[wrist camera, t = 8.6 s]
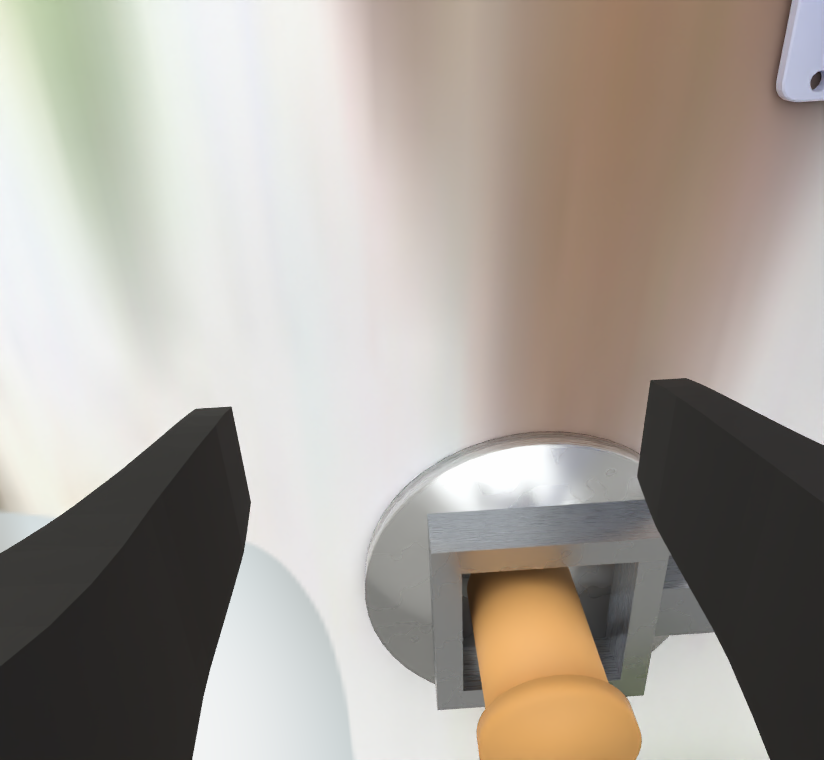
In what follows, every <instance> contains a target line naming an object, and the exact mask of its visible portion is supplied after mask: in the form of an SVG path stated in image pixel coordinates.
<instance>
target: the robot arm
mask: <svg viewBox="0 0 824 760" xmlns="http://www.w3.org/2000/svg"><path fill="white" fill-rule="evenodd" d="M818 71H819V72H820V73H821V81H820V83H819V85H818V86H817V87H816V88H815V89H813V90H812V89H811V87H810V81H811V79H812V76H813V75H814V74H815V73H817V72H818ZM776 91H777V93H778V95H779V96H780V97H781V98H782V99H783V100H787V101H793V102H808V101H824V0H792V4H791V9H790V15H789V20H788V25H787V30H786V35H785V40H784V45H783V50H782V55H781V60H780V65H779V70H778V76H777V81H776ZM637 479H638V481H639V484H640V487H641V490H642V493H643V495H644V498H645V501H646V504H647V506H648V509H649V511H650V514H651V516H652V519H653V521H654V524H655V526H656V528H657V530H658V532H659V533H660V535H661V537H662V539H663V541H664V543H665V545H666V546H667V548H668V550H669V552H670V554H671V555H672V557H673V559H674V561H675V563H676V564H677V566H678V568H679V570H680V572H681V573H682V575H683V577H684V579H685V580H686V582H687V584H688V586H689V588H690V589H691V591H692V593H693V595H694V596H695V598H696V600H697V602H698V604H699V605H700V607H701V609H702V611H703V612H704V614H705V616H706V618H707V620H708V621H709V623H710V625H711V627H712V628H713V630H714V632H715V634H716V636H717V638H718V640H719V642H720V644H721V646H722V648H723V650H724V652H725V654H726V656H727V657H728V660H729V662H730V664H731V666H732V669H733V671H734V673H735V676H736V678H737V680H738V683H739V685H740V687H741V690H742V692H743V694H744V697H745V699H746V701H747V704H748V706H749V708H750V711H751V713H752V715H753V718H754V720H755V723H756V725H757V728H758V730H759V733H760V735H761V738H762V740H763V743H764V745H765V748H766V751H767V753H768V756H769V758H770V760H824V445H822V444H819V443H817V442H815V441H813V440H811V439H809V438H807V437H805V436H803V435H801V434H799V433H796V432H794V431H792V430H790V429H788V428H786V427H784V426H782V425H780V424H778V423H776V422H775V421H773V420H771V419H769V418H767V417H765V416H763V415H761V414H759V413H757V412H755V411H753V410H751V409H749V408H747V407H745V406H743V405H742V404H740V403H738V402H736V401H734V400H732V399H730V398H728V397H726V396H724V395H722V394H720V393H718V392H716V391H714V390H712V389H710V388H708V387H706V386H704V385H701V384H699V383H697V382H694V381H692V380H689V379H687V378H681V379H665V380H651V381H650V388H649V395H648V402H647V409H646V416H645V423H644V431H643V438H642V445H641V452H640V459H639V466H638V473H637ZM250 504H251V501H250V496H249V491H248V486H247V481H246V476H245V471H244V466H243V461H242V456H241V451H240V446H239V441H238V437H237V432H236V427H235V422H234V417H233V412H232V407H218V408H202V409H195V410H193V411H192V412H191V413H189V414H188V415H187V416H185V417H184V418H183V419H182V420H180V421H179V422H178V423H177V424H176V425H174V426H173V427H172V428H171V429H170V430H168V431H167V432H166V433H165V434H164V435H163V436H161V437H160V438H159V439H158V440H157V441H155V442H154V443H153V444H152V445H151V446H150V447H148V448H147V449H146V450H145V451H144V452H142V453H141V454H140V455H139V456H138V457H136V458H135V459H134V460H133V461H132V462H130V463H129V464H128V465H127V466H126V467H124V468H123V469H122V470H121V471H119V472H118V473H117V474H115V475H114V476H113V477H112V478H110V479H109V480H108V481H106V482H105V483H104V484H102V485H101V486H100V487H98V488H97V489H96V490H94V491H93V492H92V493H90V494H89V495H88V496H86V497H85V498H84V499H82V500H81V501H80V502H79V503H77V504H76V505H75V506H73V507H72V508H70V509H69V510H68V511H66V512H65V513H63V514H62V515H60V516H59V517H57V518H56V519H54V520H53V521H51V522H50V523H48V524H47V525H45V526H44V527H42V528H41V529H39V530H38V531H36V532H34V533H33V534H31V535H30V536H28V537H26V538H25V539H23V540H22V541H20V542H18V543H17V544H15V545H14V546H12V547H10V548H9V549H7V550H5V551H3V552H2V553H0V760H192V756H193V751H194V746H195V740H196V735H197V729H198V724H199V718H200V713H201V707H202V701H203V696H204V692H205V688H206V684H207V680H208V675H209V671H210V667H211V664H212V661H213V657H214V654H215V650H216V647H217V644H218V640H219V637H220V633H221V630H222V627H223V623H224V620H225V616H226V613H227V609H228V606H229V603H230V599H231V596H232V592H233V589H234V585H235V582H236V578H237V574H238V571H239V568H240V564H241V560H242V556H243V553H244V547H245V541H246V534H247V527H248V520H249V512H250Z"/></svg>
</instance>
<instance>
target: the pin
mask: <svg viewBox="0 0 824 760" xmlns="http://www.w3.org/2000/svg"><path fill="white" fill-rule="evenodd" d="M467 595H468V601H469V607H470V614H471V620H472V626H473V633H474V639H475V645H476V652H477V658H478V664H479V671H480V677H481V683H482V690H483V696H484V702H485V710H484V712H483V713H482V715H481V717H480V719H479V722H478V725H477V742H478V749H479V756H480V760H636V758H637V756H638V754H639V751H640V748H641V742H642V740H641V733H640V729H639V727H638V724H637V721H636V718H635V716H634V713H633V710H632V708H631V705H630V703H629V701H628V699H627V698H626V696H625V695H624V694H623V693H622V692H621V691H620V690H619V689H617V688H616V687H614V686H613V685H611V684H609V682H608V680H607V677H606V674H605V671H604V668H603V665H602V662H601V659H600V657H599V654H598V651H597V648H596V645H595V642H594V639H593V636H592V634H591V631H590V628H589V625H588V622H587V619H586V616H585V613H584V611H583V608H582V605H581V602H580V599H579V596H578V593H577V590H576V588H575V585H574V582H573V579H572V576H571V573H570V570H569V568H568V567H557V568H543V569H528V570H513V571H499V572H484V573H471V575H470V577H469V580H468V584H467Z"/></svg>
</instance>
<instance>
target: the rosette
mask: <svg viewBox="0 0 824 760" xmlns="http://www.w3.org/2000/svg"><path fill="white" fill-rule="evenodd" d="M639 459H640V454H638V453H636V452H635V451H633V450H631V449H629V448H627V447H625V446H622V445H620V444H617V443H614V442H611V441H609V440H606V439H602V438H597V437H593V436H589V435H584V434H576V433H566V432H533V433H525V434H516V435H510V436H506V437H501V438H497V439H493V440H488V441H486V442H483V443H480V444H477V445H474V446H471V447H468V448H466V449H463V450H461V451H459V452H457V453H455V454H453V455H451V456H449V457H447V458H445V459H443V460H441V461H440V462H438V463H437V464H435V465H433V466H432V467H430V468H429V469H427V470H425V471H424V472H423V473H422V474H420V475H419V476H418V477H417V478H415V479H414V480H413V481H412V482H410V483H409V484H408V485H407V486H406V487H405V488H404V489H403V490H402V491H401V492H400V493H399V494H398V495H397V496H396V497H395V499H394V500H393V501H392V502H391V504H390V505H389V507H388V508H387V509H386V511H385V512H384V513H383V515H382V517H381V519H380V520H379V522H378V524H377V526H376V528H375V530H374V532H373V535H372V538H371V541H370V544H369V547H368V552H367V558H366V566H365V600H366V605H367V610H368V615H369V618H370V620H371V623H372V626H373V628H374V631H375V632H376V634H377V635H378V637H379V639H380V640H381V642H382V644H383V645H384V646H385V647H386V648H387V650H388V651H389V652H390V653H391V654H392V655H393V657H395V658H396V659H397V660H398V661H399V662H400V663H401V664H403V665H404V666H405V667H406V668H408V669H409V670H411V671H412V672H414V673H415V674H417V675H418V676H420V677H422V678H424V679H426V680H428V681H430V682H432V683H434V684H435V685H436V697H437V708H438V710H445V709H459V708H473V707H485V702H484V696H483V690H482V683H481V677H480V671H479V664H478V658H477V652H476V645H475V639H474V633H473V626H472V620H471V614H470V607H469V601H468V595H467V584H468V580H469V577H470V575H471V573H484V572H499V571H513V570H528V569H543V568H557V567H568V568H569V570H570V573H571V576H572V579H573V582H574V585H575V588H576V590H577V593H578V596H579V599H580V602H581V605H582V608H583V611H584V613H585V616H586V619H587V622H588V625H589V628H590V631H591V634H592V636H593V639H594V642H595V645H596V648H597V651H598V654H599V657H600V659H601V662H602V665H603V668H604V671H605V674H606V677H607V680H608V682H609V684H611V685H613V686H614V687H616V688H617V689H619V690H620V691H621V692H622V693H623V694H624V695H625V696H640V695H644V690H645V684H646V679H647V673H648V668H649V663H650V657H651V652H652V651H653V650H655V649H656V648H657V647H658V646H659V645H660V644H661V643H662V642H663V641H664V640H665V639H666V638H667V637H668V636H669V635H680V634H694V633H709V632H714V630H713V628H712V627H711V625H710V623H709V621H708V620H707V618H706V616H705V614H704V612H703V611H702V609H701V607H700V605H699V604H698V602H697V600H696V598H695V596H694V595H693V593H692V591H691V589H690V588H689V586H688V584H687V582H686V580H685V579H684V577H683V575H682V573H681V572H680V570H679V568H678V566H677V564H676V563H675V561H674V559H673V557H672V555H671V554H670V552H669V550H668V548H667V546H666V545H665V543H664V541H663V539H662V537H661V535H660V533H659V532H658V530H657V528H656V526H655V524H654V521H653V519H652V516H651V514H650V511H649V509H648V506H647V504H646V501H645V498H644V495H643V493H642V490H641V487H640V484H639V481H638V479H637V473H638V466H639Z"/></svg>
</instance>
